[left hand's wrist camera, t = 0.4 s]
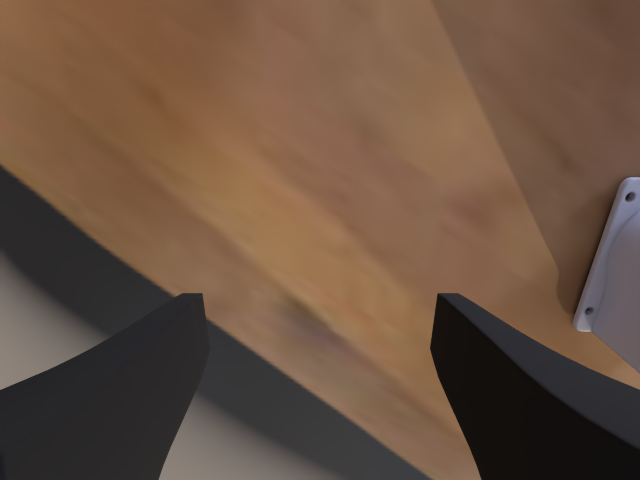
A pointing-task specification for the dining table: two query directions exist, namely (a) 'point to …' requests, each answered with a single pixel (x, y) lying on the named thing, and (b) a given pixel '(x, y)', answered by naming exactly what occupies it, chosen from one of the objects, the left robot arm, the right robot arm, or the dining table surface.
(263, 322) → the dining table surface
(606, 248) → the right robot arm
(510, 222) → the dining table surface
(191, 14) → the dining table surface
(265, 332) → the dining table surface
